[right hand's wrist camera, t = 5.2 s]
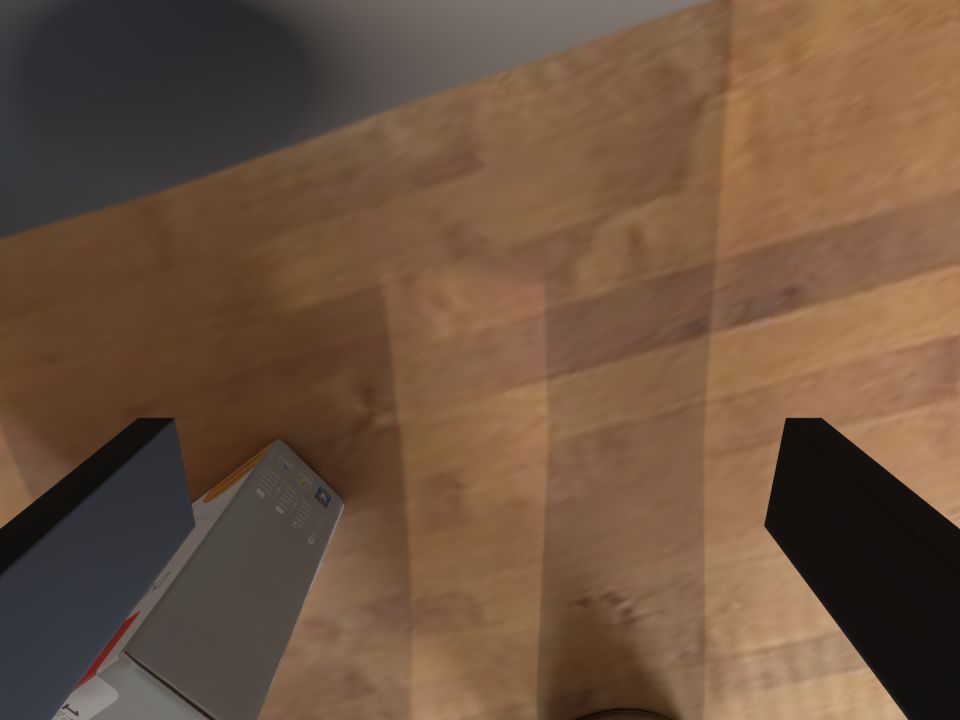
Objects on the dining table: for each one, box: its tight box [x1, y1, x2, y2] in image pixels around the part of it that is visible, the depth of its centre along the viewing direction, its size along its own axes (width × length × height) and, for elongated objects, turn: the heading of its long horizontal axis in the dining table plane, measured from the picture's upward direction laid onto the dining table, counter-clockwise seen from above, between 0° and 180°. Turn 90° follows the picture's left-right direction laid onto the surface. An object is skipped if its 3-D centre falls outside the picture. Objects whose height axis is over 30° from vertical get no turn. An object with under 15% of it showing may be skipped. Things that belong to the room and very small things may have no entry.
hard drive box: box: [52, 439, 345, 720], centre depth 37 cm, size 16×8×20 cm, turn 128°
